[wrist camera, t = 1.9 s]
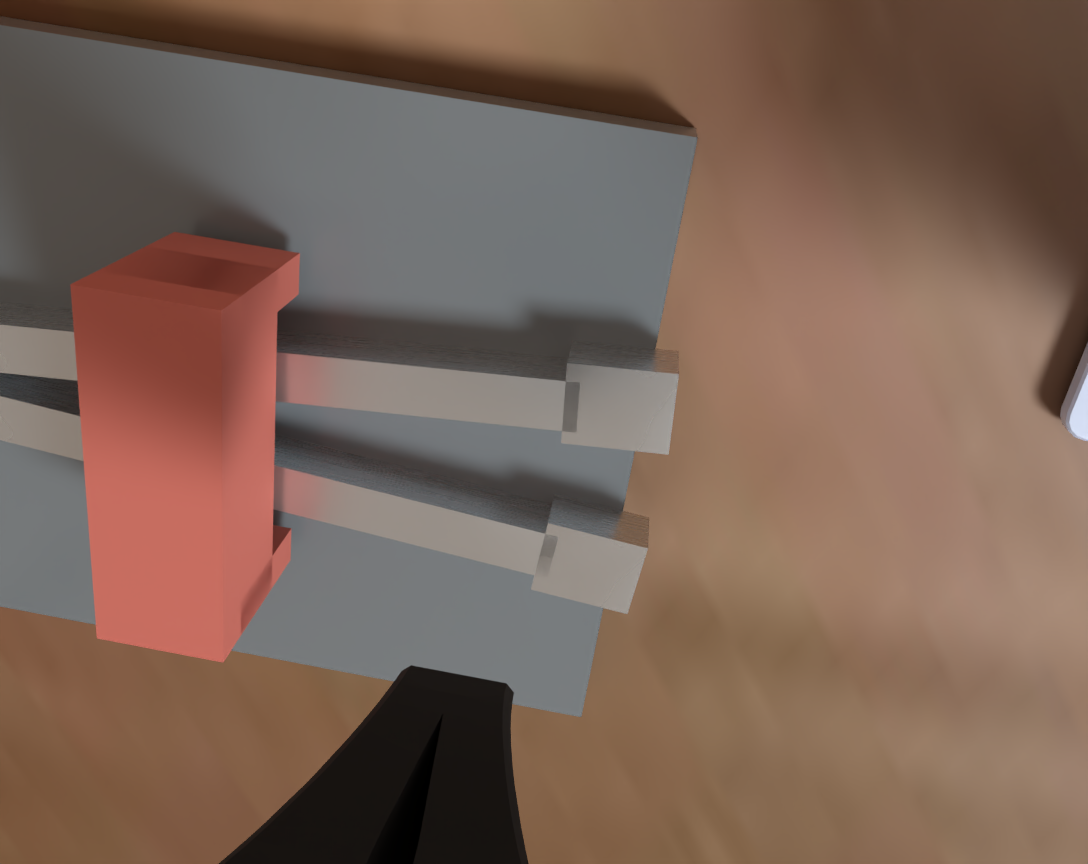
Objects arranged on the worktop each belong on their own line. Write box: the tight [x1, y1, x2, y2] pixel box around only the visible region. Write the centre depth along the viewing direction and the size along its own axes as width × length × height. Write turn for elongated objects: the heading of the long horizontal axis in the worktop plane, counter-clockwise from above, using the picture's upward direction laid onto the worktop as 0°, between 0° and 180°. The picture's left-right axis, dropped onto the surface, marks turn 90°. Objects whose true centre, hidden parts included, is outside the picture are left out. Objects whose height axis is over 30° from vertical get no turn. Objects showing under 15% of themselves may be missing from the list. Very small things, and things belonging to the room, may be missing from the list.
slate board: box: [0, 16, 698, 717], centre depth 21 cm, size 20×13×1 cm, turn 82°
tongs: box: [0, 302, 679, 614], centre depth 19 cm, size 21×5×1 cm, turn 82°
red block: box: [70, 232, 300, 662], centre depth 18 cm, size 2×7×4 cm, turn 172°
